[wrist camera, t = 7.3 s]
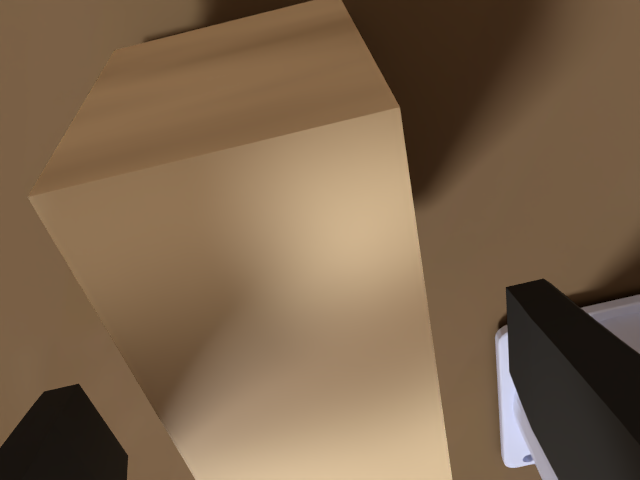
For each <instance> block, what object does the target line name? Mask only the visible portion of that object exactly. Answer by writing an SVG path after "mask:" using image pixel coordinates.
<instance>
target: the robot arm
mask: <svg viewBox="0 0 640 480" xmlns="http://www.w3.org/2000/svg"><path fill="white" fill-rule="evenodd" d="M506 301H507V325H505V326H503V327H502V328H500V329H499V330H498V332H497V333H496V336H495V343H496V362H497V381H498V399H499V418H500V437H501V456H502V459H503V461H504V464H505V465H506V466H507V467H511V468H516V467H521V466H526V465H530V464H535V465H536V467H537V469H538V471H539V473H540V476H541V478H542V480H640V294H639V295H635V296H631V297H626V298H622V299H617V300H613V301H608V302H604V303H600V304H595V305H591V306H586V307H582V308H580V307H579V306H578V305H576V304H575V303H574V302H573V301H571V300H570V299H569V298H568V297H567V296H565V295H564V294H563V293H562V292H561V291H559V290H558V289H557V288H556V287H554V286H553V285H552V284H551V283H549V282H548V281H546V280H545V279H540V280H536V281H531V282H527V283H522V284H518V285H514V286H509V287H506ZM127 464H128V455H127V454H126V452H125V451H124V449H123V448H122V446H121V445H120V443H119V442H118V440H117V439H116V437H115V436H114V435H113V433H112V432H111V430H110V429H109V427H108V426H107V424H106V423H105V421H104V420H103V418H102V417H101V416H100V414H99V413H98V411H97V410H96V408H95V407H94V405H93V404H92V402H91V401H90V399H89V398H88V396H87V395H86V394H85V392H84V391H83V389H82V388H81V386H80V385H79V384H76V385H71V386H67V387H62V388H58V389H54V390H49V391H45V392H43V394H42V395H41V396H40V397H39V398H38V400H37V401H36V402H35V403H34V405H33V406H32V407H31V408H30V410H29V411H28V412H27V413H26V415H25V416H24V417H23V419H22V420H21V421H20V423H19V424H18V425H17V427H16V428H15V429H14V430H13V432H12V433H11V434H10V436H9V437H8V438H7V440H6V441H5V442H4V444H3V445H2V446H1V448H0V480H127Z"/></svg>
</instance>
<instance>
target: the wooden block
mask: <svg viewBox="0 0 640 480" xmlns="http://www.w3.org/2000/svg"><path fill="white" fill-rule="evenodd" d="M28 199H29V201H30V202H31V204H32V206H33V207H34V209H35V211H36V212H37V214H38V216H39V217H40V219H41V221H42V222H43V224H44V226H45V227H46V229H47V231H48V232H49V234H50V236H51V237H52V239H53V241H54V243H55V244H56V246H57V248H58V249H59V251H60V253H61V254H62V256H63V258H64V259H65V261H66V263H67V264H68V266H69V268H70V269H71V271H72V273H73V274H74V276H75V278H76V279H77V281H78V283H79V284H80V286H81V288H82V290H83V291H84V293H85V295H86V296H87V298H88V300H89V301H90V303H91V305H92V306H93V308H94V310H95V311H96V313H97V315H98V316H99V318H100V320H101V321H102V323H103V325H104V326H105V328H106V330H107V331H108V333H109V335H110V337H111V338H112V340H113V342H114V343H115V345H116V347H117V348H118V350H119V352H120V353H121V355H122V357H123V358H124V360H125V362H126V363H127V365H128V367H129V368H130V370H131V372H132V373H133V375H134V377H135V378H136V380H137V382H138V384H139V385H140V387H141V389H142V390H143V392H144V394H145V395H146V397H147V399H148V400H149V402H150V404H151V405H152V407H153V409H154V410H155V412H156V414H157V415H158V417H159V419H160V420H161V422H162V424H163V425H164V427H165V429H166V431H167V432H168V434H169V436H170V437H171V439H172V441H173V442H174V444H175V446H176V447H177V449H178V451H179V452H180V454H181V456H182V457H183V459H184V461H185V462H186V464H187V466H188V467H189V469H190V471H191V472H192V474H193V476H194V478H195V479H196V480H452V475H451V468H450V461H449V454H448V446H447V439H446V432H445V425H444V418H443V411H442V404H441V397H440V389H439V382H438V375H437V368H436V361H435V354H434V347H433V340H432V332H431V325H430V318H429V311H428V304H427V297H426V290H425V283H424V275H423V268H422V261H421V254H420V247H419V240H418V233H417V226H416V219H415V211H414V204H413V197H412V190H411V183H410V176H409V169H408V162H407V154H406V147H405V140H404V133H403V126H402V119H401V112H400V106H399V105H398V103H397V101H396V99H395V97H394V95H393V94H392V92H391V90H390V88H389V86H388V84H387V83H386V81H385V79H384V77H383V75H382V73H381V72H380V70H379V68H378V66H377V64H376V62H375V61H374V59H373V57H372V55H371V53H370V51H369V50H368V48H367V46H366V44H365V42H364V40H363V39H362V37H361V35H360V33H359V31H358V29H357V28H356V26H355V24H354V22H353V20H352V18H351V17H350V15H349V13H348V11H347V9H346V7H345V6H344V4H343V2H342V0H313V1H309V2H305V3H301V4H297V5H293V6H289V7H285V8H281V9H277V10H273V11H269V12H265V13H261V14H257V15H253V16H249V17H245V18H241V19H237V20H233V21H229V22H225V23H221V24H217V25H213V26H209V27H205V28H201V29H197V30H193V31H189V32H185V33H181V34H177V35H173V36H169V37H165V38H161V39H157V40H153V41H149V42H145V43H141V44H137V45H133V46H129V47H125V48H121V49H117V50H114V52H113V53H112V55H111V57H110V58H109V60H108V62H107V63H106V65H105V67H104V69H103V70H102V72H101V74H100V75H99V77H98V79H97V80H96V82H95V84H94V85H93V87H92V89H91V91H90V92H89V94H88V96H87V97H86V99H85V101H84V102H83V104H82V106H81V107H80V109H79V111H78V112H77V114H76V116H75V118H74V119H73V121H72V123H71V124H70V126H69V128H68V129H67V131H66V133H65V134H64V136H63V138H62V140H61V141H60V143H59V145H58V146H57V148H56V150H55V151H54V153H53V155H52V156H51V158H50V160H49V161H48V163H47V165H46V167H45V168H44V170H43V172H42V173H41V175H40V177H39V178H38V180H37V182H36V183H35V185H34V187H33V189H32V190H31V192H30V194H29V195H28Z"/></svg>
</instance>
